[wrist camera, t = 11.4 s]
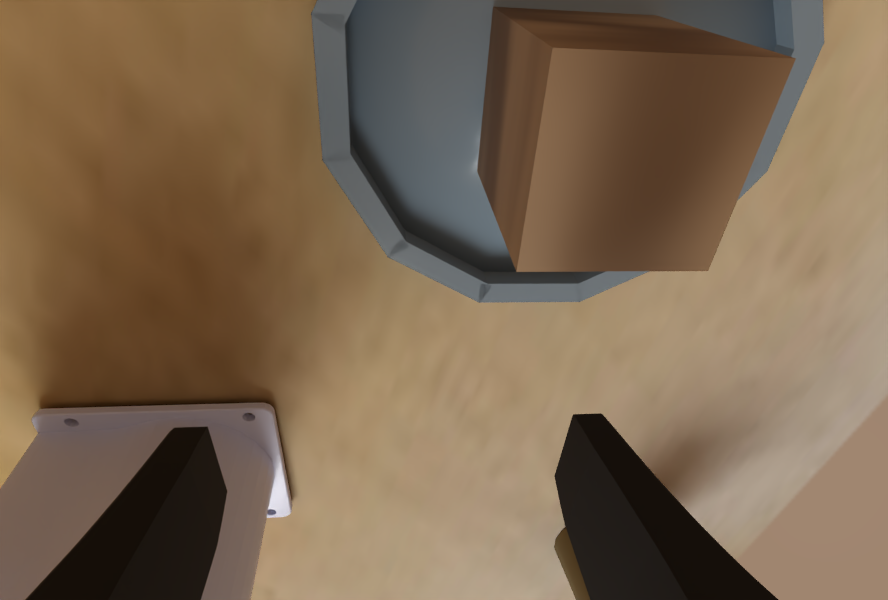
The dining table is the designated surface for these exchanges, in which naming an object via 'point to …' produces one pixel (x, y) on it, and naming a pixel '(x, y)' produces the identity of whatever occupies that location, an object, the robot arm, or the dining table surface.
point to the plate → (460, 119)
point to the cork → (570, 565)
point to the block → (619, 137)
